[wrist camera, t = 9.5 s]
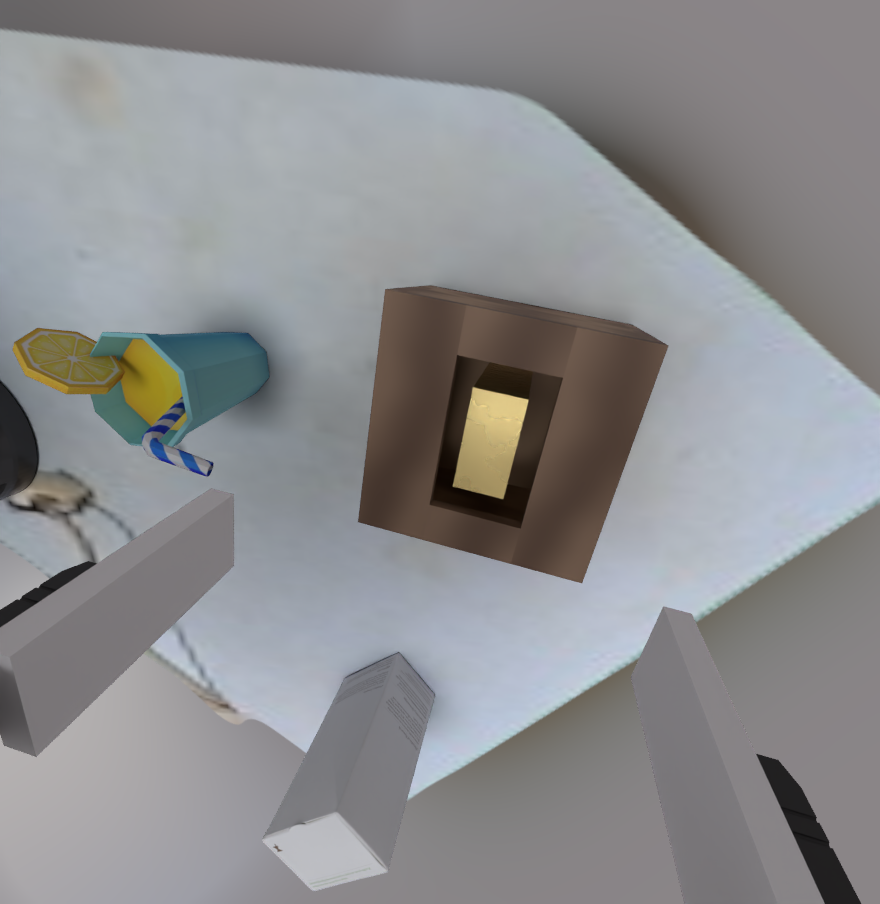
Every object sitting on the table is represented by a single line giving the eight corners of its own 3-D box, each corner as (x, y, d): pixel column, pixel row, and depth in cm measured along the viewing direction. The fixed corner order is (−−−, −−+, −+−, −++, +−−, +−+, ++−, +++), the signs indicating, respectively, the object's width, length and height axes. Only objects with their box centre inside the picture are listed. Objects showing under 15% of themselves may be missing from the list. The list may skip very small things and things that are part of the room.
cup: (339, 361, 36) (212, 413, 22) (313, 443, 39) (187, 534, 25) (183, 286, 36) (-34, 292, 23) (169, 373, 40) (-29, 425, 26)
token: (474, 436, 35) (452, 486, 27) (491, 359, 33) (473, 387, 24) (513, 446, 34) (503, 499, 26) (533, 368, 32) (528, 399, 24)
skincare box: (378, 717, 49) (311, 895, 35) (340, 674, 48) (254, 840, 34) (439, 694, 46) (391, 879, 32) (399, 647, 45) (332, 817, 31)
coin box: (403, 462, 38) (358, 522, 29) (430, 285, 32) (385, 289, 23) (573, 505, 36) (582, 583, 27) (631, 324, 31) (668, 345, 21)
